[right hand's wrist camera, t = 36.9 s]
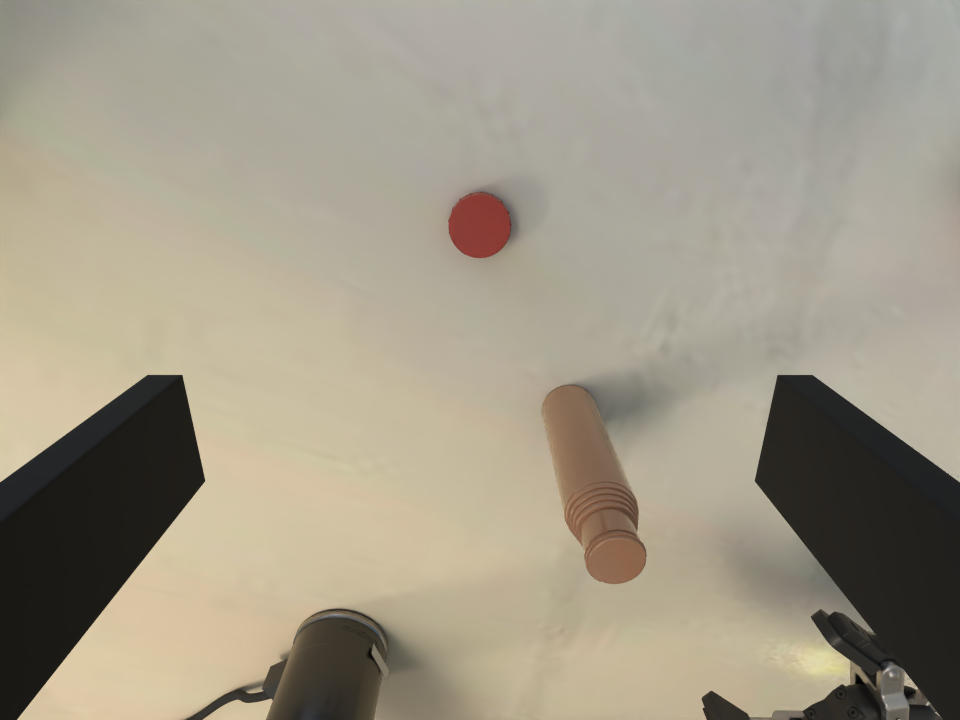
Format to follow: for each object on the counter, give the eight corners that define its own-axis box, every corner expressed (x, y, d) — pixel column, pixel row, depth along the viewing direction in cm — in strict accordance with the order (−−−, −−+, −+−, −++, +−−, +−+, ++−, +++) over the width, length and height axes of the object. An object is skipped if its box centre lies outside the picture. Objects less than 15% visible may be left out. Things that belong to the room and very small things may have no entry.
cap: (471, 264, 43) (471, 270, 41) (437, 214, 41) (435, 218, 40) (521, 231, 42) (523, 236, 40) (488, 179, 41) (488, 181, 39)
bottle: (563, 375, 46) (612, 514, 29) (606, 403, 47) (676, 553, 30) (530, 415, 48) (558, 569, 31) (572, 441, 49) (621, 605, 32)
